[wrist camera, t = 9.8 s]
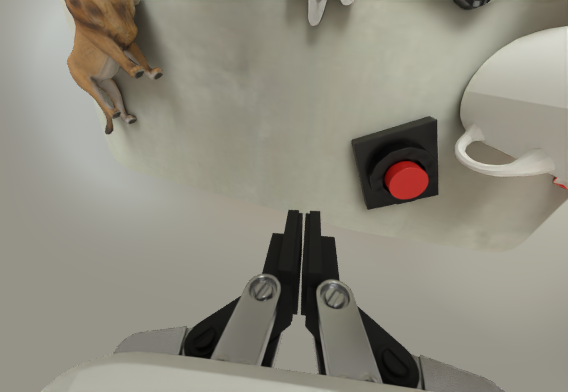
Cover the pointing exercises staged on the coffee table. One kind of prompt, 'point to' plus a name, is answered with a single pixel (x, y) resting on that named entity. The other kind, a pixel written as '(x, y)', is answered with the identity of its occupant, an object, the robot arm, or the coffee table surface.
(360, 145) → the button box
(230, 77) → the coffee table surface
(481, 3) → the phone
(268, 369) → the robot arm
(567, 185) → the white and red cube
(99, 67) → the lion figurine
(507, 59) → the mug
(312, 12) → the game controller
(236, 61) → the coffee table surface
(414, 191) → the button
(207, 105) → the coffee table surface
